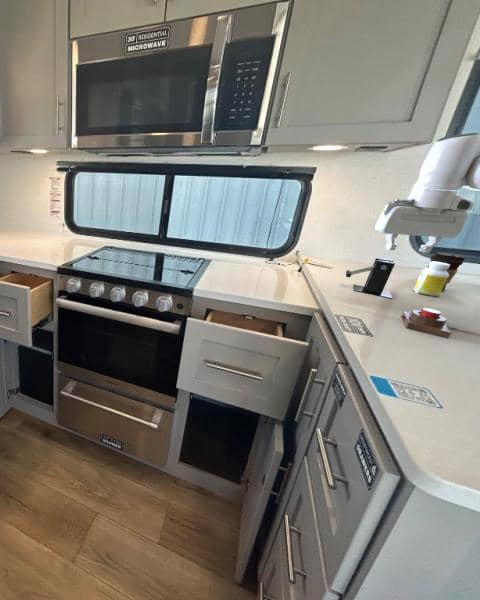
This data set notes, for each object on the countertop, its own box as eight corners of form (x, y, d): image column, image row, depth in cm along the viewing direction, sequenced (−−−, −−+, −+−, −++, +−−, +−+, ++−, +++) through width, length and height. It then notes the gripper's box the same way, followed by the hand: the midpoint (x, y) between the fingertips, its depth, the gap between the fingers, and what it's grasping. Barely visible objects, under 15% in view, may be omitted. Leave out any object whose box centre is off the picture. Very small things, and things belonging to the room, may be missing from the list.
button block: (401, 316, 94) (406, 305, 93) (439, 325, 90) (445, 313, 89) (405, 328, 87) (411, 316, 86) (448, 338, 83) (455, 326, 81)
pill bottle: (441, 300, 109) (459, 267, 104) (417, 297, 111) (433, 264, 106) (430, 294, 115) (446, 262, 110) (407, 290, 117) (422, 259, 112)
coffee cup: (454, 295, 115) (474, 259, 110) (425, 291, 118) (443, 255, 113) (438, 287, 123) (456, 253, 118) (411, 283, 125) (427, 250, 120)
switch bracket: (352, 293, 111) (366, 259, 106) (352, 287, 117) (365, 255, 112) (391, 301, 105) (407, 266, 101) (388, 294, 111) (404, 261, 107)
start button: (418, 312, 90) (421, 306, 89) (436, 316, 88) (439, 310, 87) (420, 316, 87) (423, 310, 86) (439, 320, 85) (442, 314, 84)
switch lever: (347, 279, 112) (344, 272, 112) (346, 275, 116) (344, 269, 115) (390, 269, 104) (388, 262, 104) (389, 266, 108) (386, 259, 108)
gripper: (399, 199, 86) (377, 251, 91) (481, 204, 85) (454, 256, 90) (380, 197, 92) (361, 245, 97) (457, 201, 91) (433, 250, 96)
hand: (406, 250), depth 94 cm, fingers open, 8 cm apart
